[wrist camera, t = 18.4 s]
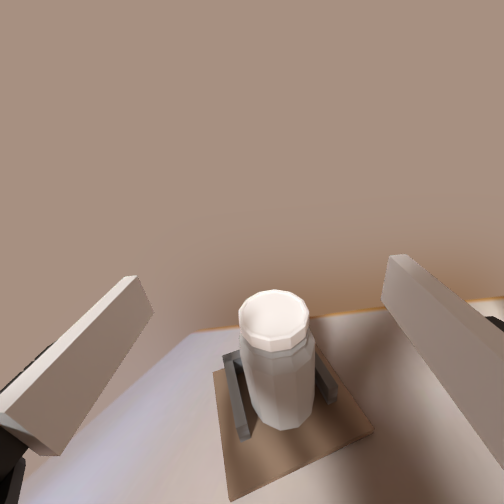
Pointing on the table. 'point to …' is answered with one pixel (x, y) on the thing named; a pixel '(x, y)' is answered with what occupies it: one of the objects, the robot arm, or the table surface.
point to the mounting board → (285, 441)
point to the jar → (278, 357)
